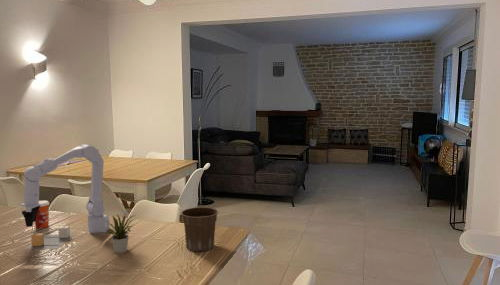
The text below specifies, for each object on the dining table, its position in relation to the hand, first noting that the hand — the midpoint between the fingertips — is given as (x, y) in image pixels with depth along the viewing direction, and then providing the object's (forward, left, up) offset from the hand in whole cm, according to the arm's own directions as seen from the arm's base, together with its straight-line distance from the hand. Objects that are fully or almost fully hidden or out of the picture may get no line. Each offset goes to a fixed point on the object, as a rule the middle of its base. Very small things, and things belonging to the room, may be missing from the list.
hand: (31, 223), depth 172 cm
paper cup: (+8, -23, -10) cm, 27 cm away
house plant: (-43, +6, -10) cm, 45 cm away
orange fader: (-4, +3, -9) cm, 10 cm away
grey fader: (-11, -7, -9) cm, 16 cm away
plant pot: (-76, +2, -10) cm, 77 cm away
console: (-7, -2, -10) cm, 13 cm away
